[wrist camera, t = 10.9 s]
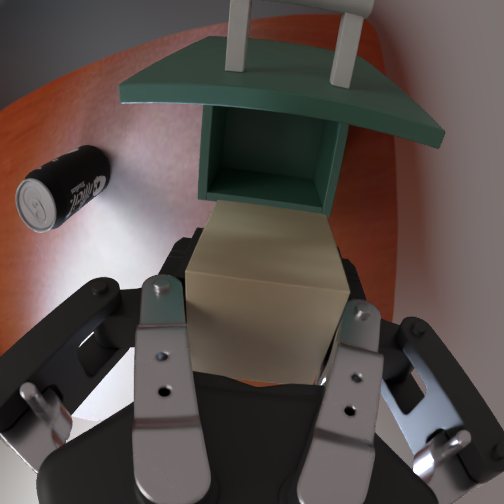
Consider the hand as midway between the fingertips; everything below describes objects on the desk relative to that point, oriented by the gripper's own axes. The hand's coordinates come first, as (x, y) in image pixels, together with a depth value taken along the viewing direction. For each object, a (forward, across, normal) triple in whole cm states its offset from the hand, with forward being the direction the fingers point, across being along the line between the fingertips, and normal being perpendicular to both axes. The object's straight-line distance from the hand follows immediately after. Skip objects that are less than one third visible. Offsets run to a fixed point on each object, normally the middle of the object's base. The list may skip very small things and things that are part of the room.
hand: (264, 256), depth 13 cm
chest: (+22, 0, -3) cm, 23 cm away
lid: (+6, 0, -8) cm, 10 cm away
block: (0, 0, 0) cm, 0 cm away
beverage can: (+22, +22, +4) cm, 32 cm away
